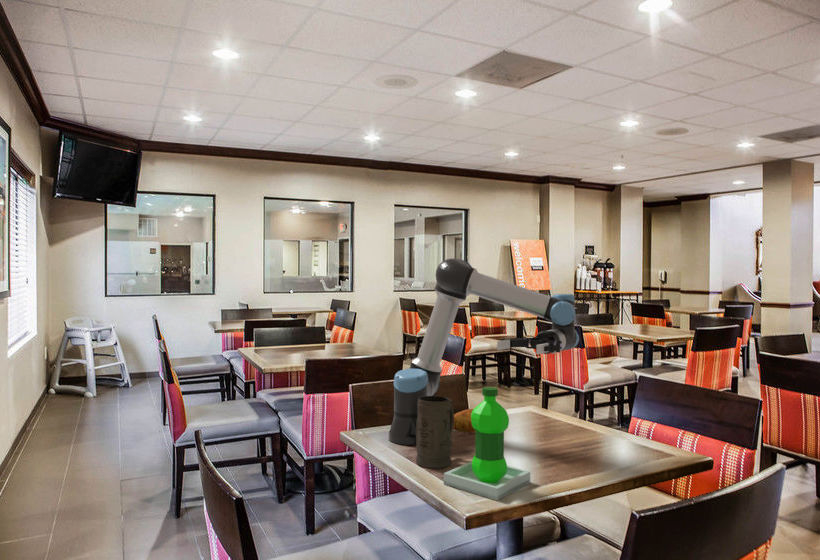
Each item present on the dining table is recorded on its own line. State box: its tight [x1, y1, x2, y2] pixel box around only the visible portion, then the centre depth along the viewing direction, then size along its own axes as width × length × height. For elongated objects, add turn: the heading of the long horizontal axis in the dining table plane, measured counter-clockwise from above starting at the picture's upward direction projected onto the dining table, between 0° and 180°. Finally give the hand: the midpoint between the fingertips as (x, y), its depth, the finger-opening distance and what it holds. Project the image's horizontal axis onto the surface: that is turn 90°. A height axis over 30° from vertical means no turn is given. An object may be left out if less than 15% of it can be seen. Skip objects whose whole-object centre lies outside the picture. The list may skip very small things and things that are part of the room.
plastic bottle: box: [471, 386, 510, 483], centre depth 157 cm, size 10×10×25 cm
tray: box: [443, 460, 531, 501], centre depth 157 cm, size 17×17×3 cm
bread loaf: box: [452, 408, 476, 434], centre depth 214 cm, size 14×16×8 cm
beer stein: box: [415, 395, 455, 469], centre depth 176 cm, size 15×11×20 cm
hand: (517, 347), depth 174 cm, fingers open, 13 cm apart
